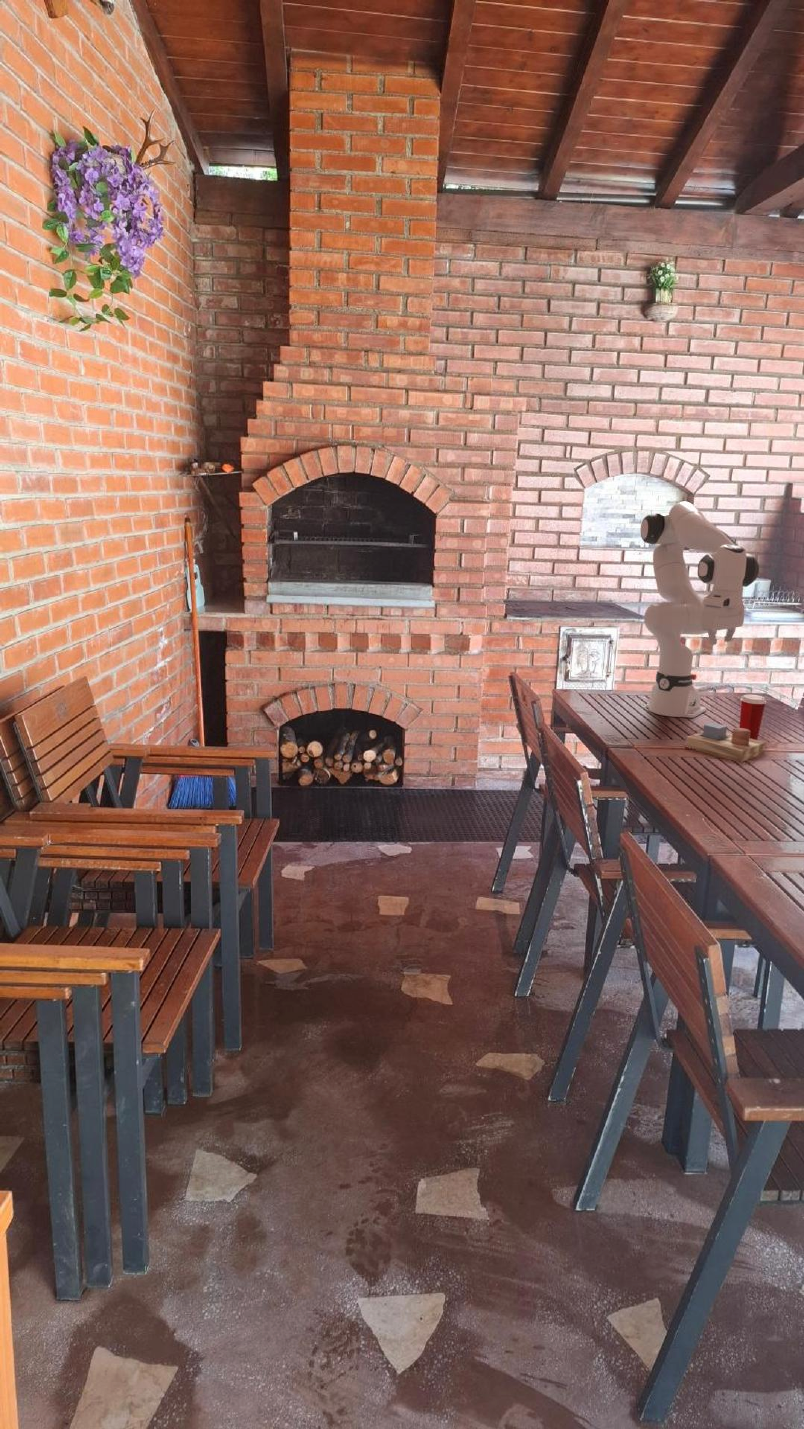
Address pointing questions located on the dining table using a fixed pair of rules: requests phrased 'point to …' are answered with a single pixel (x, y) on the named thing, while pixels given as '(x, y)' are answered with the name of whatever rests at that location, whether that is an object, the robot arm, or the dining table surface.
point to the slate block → (714, 731)
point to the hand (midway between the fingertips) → (720, 643)
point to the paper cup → (752, 714)
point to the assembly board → (728, 745)
